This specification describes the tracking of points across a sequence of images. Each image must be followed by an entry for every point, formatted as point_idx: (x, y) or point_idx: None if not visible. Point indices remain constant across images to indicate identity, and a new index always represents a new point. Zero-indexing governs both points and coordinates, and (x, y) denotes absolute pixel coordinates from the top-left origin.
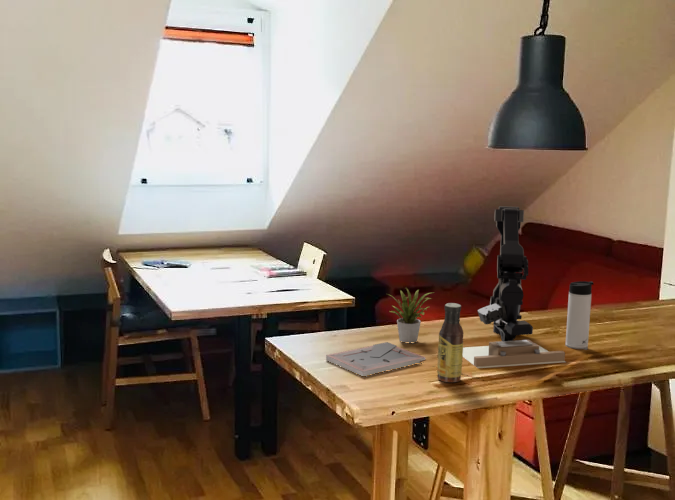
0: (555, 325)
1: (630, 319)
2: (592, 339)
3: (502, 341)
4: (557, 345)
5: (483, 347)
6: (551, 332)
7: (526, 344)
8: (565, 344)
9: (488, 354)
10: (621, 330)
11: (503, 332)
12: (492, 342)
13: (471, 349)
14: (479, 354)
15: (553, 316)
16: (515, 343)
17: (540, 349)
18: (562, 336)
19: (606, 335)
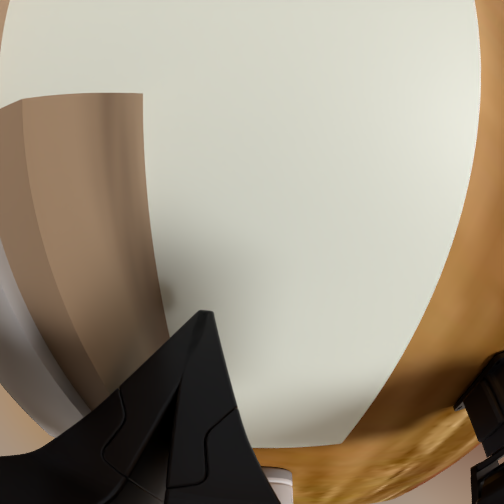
0: (429, 457)
1: (368, 497)
2: (312, 487)
3: (13, 321)
4: (306, 462)
5: (439, 198)
6: (404, 457)
7: (27, 411)
8: (276, 476)
9: (216, 122)
10: (333, 497)
11: (34, 470)
12: (6, 162)
13: (424, 50)
14: (241, 27)
15: (459, 451)
16: (8, 377)
17: (251, 440)
18: (366, 468)
19: (322, 493)
